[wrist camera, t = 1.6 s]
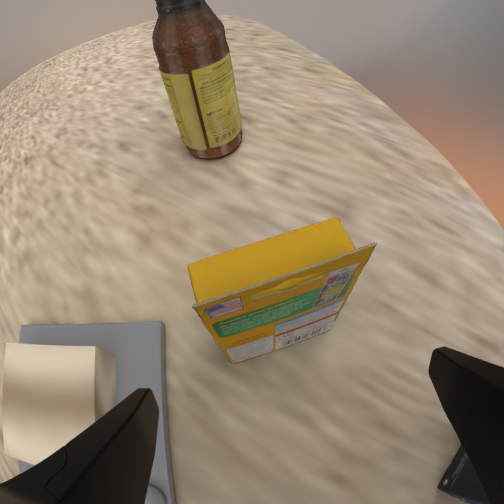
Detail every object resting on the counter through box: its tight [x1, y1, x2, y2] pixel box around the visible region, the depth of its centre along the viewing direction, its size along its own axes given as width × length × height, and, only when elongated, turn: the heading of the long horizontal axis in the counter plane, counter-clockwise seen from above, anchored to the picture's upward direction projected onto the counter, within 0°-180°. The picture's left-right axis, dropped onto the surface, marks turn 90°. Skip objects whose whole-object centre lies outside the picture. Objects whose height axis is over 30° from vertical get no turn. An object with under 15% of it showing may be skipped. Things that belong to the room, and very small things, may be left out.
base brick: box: [3, 343, 116, 465], centre depth 16 cm, size 9×9×3 cm
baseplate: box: [18, 321, 176, 504], centre depth 16 cm, size 20×14×2 cm
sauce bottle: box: [152, 0, 242, 159], centre depth 23 cm, size 7×6×20 cm
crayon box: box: [188, 217, 377, 364], centre depth 16 cm, size 7×3×12 cm, turn 108°
